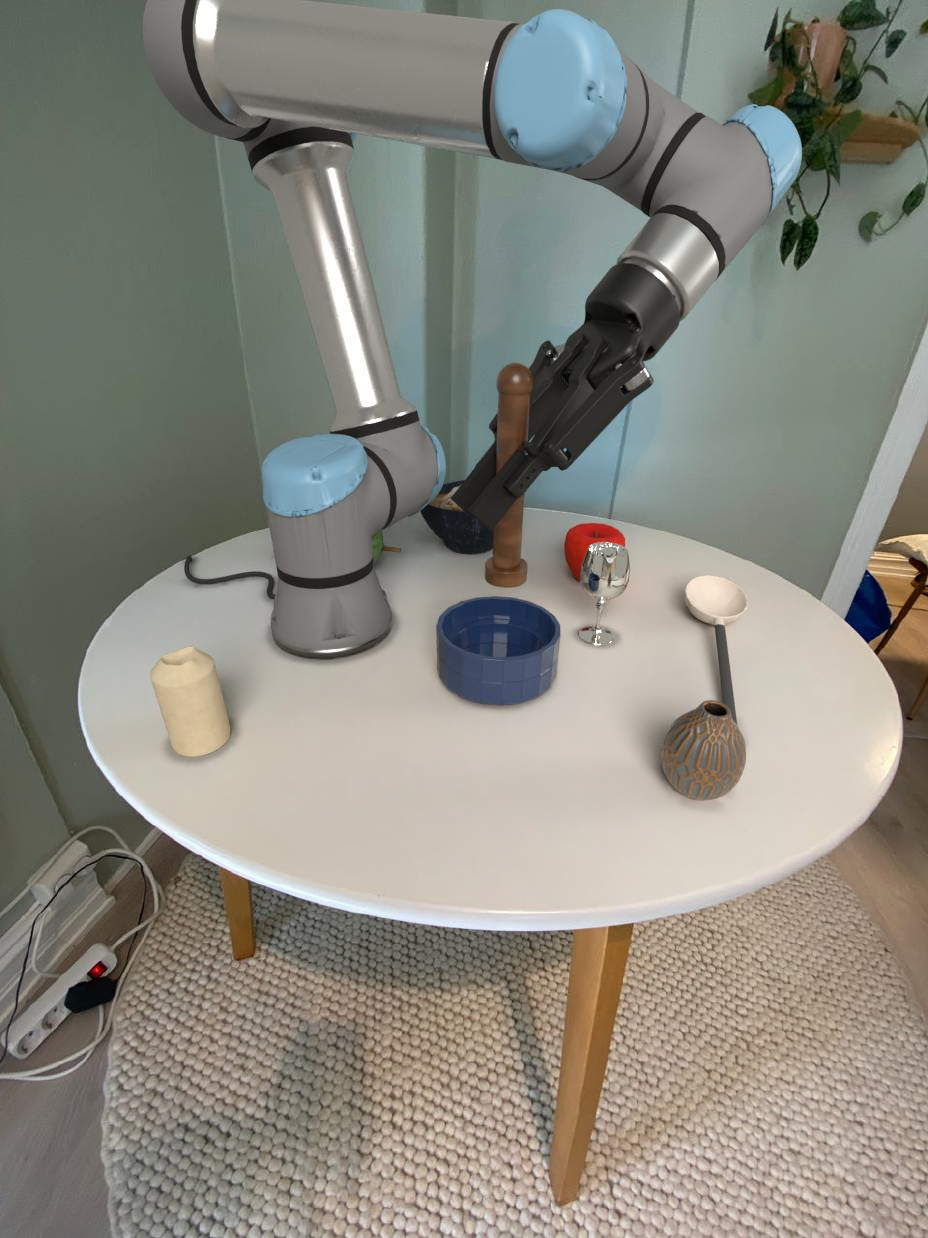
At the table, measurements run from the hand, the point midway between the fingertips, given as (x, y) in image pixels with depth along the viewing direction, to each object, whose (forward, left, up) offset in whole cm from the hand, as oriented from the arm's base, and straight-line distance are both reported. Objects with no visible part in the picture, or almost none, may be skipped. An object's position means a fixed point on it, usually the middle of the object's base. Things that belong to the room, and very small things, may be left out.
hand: (470, 513), depth 52 cm
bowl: (-19, +41, -22) cm, 50 cm away
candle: (-22, -15, -22) cm, 35 cm away
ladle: (+23, +23, -22) cm, 39 cm away
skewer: (-35, +26, -22) cm, 49 cm away
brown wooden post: (+2, +3, -7) cm, 8 cm away
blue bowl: (0, +8, -22) cm, 24 cm away
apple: (+3, +37, -22) cm, 44 cm away
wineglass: (+8, +21, -22) cm, 32 cm away
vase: (+23, 0, -22) cm, 32 cm away
